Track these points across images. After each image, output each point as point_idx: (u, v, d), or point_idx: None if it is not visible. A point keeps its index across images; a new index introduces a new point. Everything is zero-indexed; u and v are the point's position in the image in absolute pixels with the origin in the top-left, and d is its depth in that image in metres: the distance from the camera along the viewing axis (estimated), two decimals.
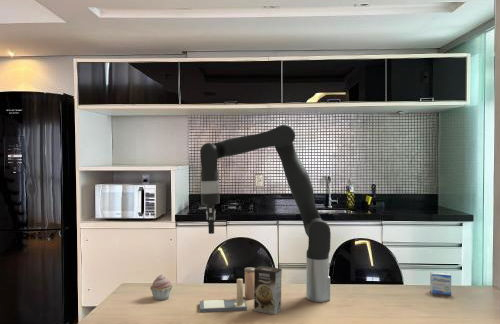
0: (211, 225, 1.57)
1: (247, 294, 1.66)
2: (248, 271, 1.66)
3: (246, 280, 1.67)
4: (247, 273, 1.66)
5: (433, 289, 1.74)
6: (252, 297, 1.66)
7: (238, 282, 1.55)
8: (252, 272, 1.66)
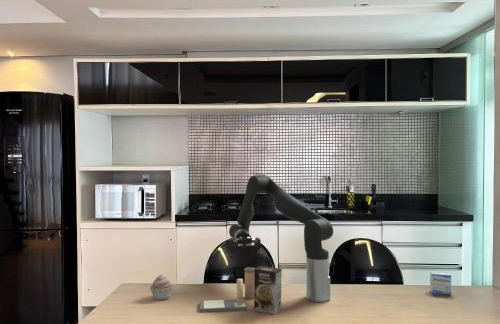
0: None
1: (247, 294, 1.66)
2: (248, 271, 1.66)
3: (246, 280, 1.67)
4: (247, 273, 1.66)
5: (433, 289, 1.74)
6: (252, 297, 1.66)
7: (238, 282, 1.55)
8: (252, 272, 1.66)
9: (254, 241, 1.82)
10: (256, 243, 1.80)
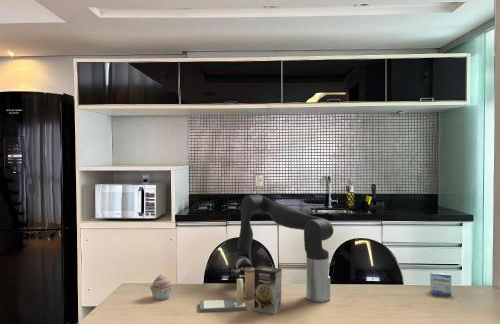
0: (235, 274, 1.77)
1: (247, 294, 1.66)
2: (248, 271, 1.66)
3: (246, 280, 1.67)
4: (247, 273, 1.66)
5: (433, 289, 1.74)
6: (252, 297, 1.66)
7: (238, 282, 1.55)
8: (252, 272, 1.66)
9: None
10: None
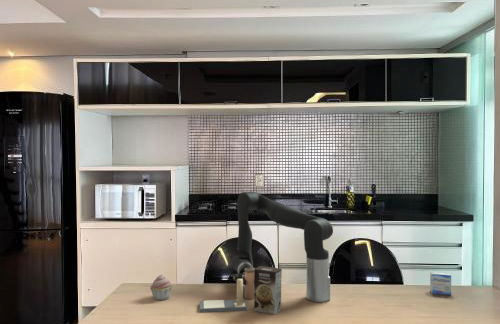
0: None
1: (247, 294, 1.66)
2: (248, 271, 1.66)
3: (246, 280, 1.67)
4: (247, 273, 1.66)
5: (433, 289, 1.74)
6: (252, 297, 1.66)
7: (238, 282, 1.55)
8: (252, 272, 1.66)
9: None
10: None
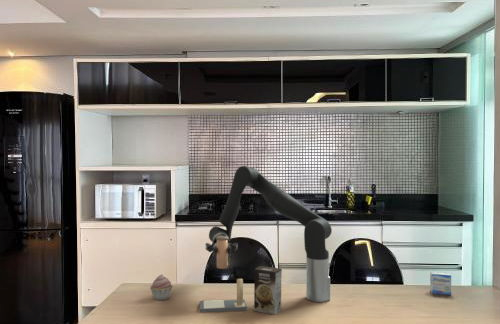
0: (213, 249, 1.60)
1: (218, 263, 1.58)
2: (220, 239, 1.58)
3: (218, 248, 1.58)
4: (218, 241, 1.58)
5: (433, 289, 1.74)
6: (224, 266, 1.58)
7: (238, 282, 1.55)
8: (224, 240, 1.58)
9: None
10: (229, 249, 1.57)
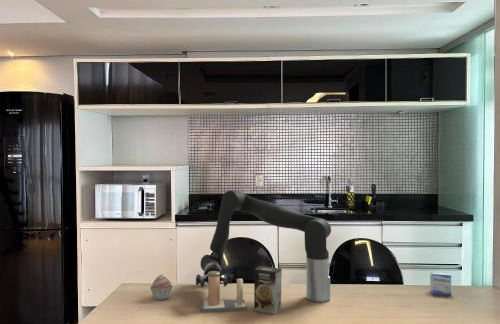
0: (200, 281, 1.57)
1: (210, 300, 1.55)
2: (211, 275, 1.54)
3: (209, 285, 1.55)
4: (210, 278, 1.55)
5: (433, 289, 1.74)
6: (216, 303, 1.54)
7: (238, 282, 1.55)
8: (216, 276, 1.55)
9: (223, 279, 1.58)
10: (225, 282, 1.55)
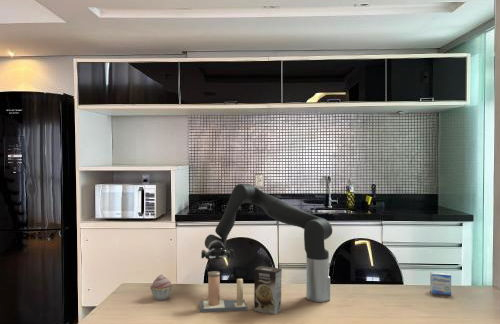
0: (205, 255, 1.72)
1: (210, 300, 1.55)
2: (211, 275, 1.54)
3: (209, 285, 1.55)
4: (210, 278, 1.55)
5: (433, 289, 1.74)
6: (216, 303, 1.54)
7: (238, 282, 1.55)
8: (216, 276, 1.54)
9: (227, 253, 1.72)
10: (228, 255, 1.70)
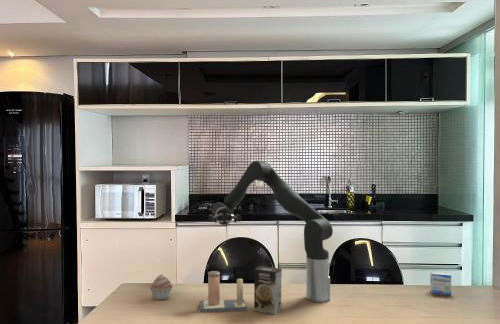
0: (213, 219, 1.75)
1: (210, 300, 1.55)
2: (211, 275, 1.54)
3: (209, 285, 1.55)
4: (210, 278, 1.55)
5: (433, 289, 1.74)
6: (216, 303, 1.54)
7: (238, 282, 1.55)
8: (216, 276, 1.54)
9: (234, 217, 1.76)
10: (235, 218, 1.73)
